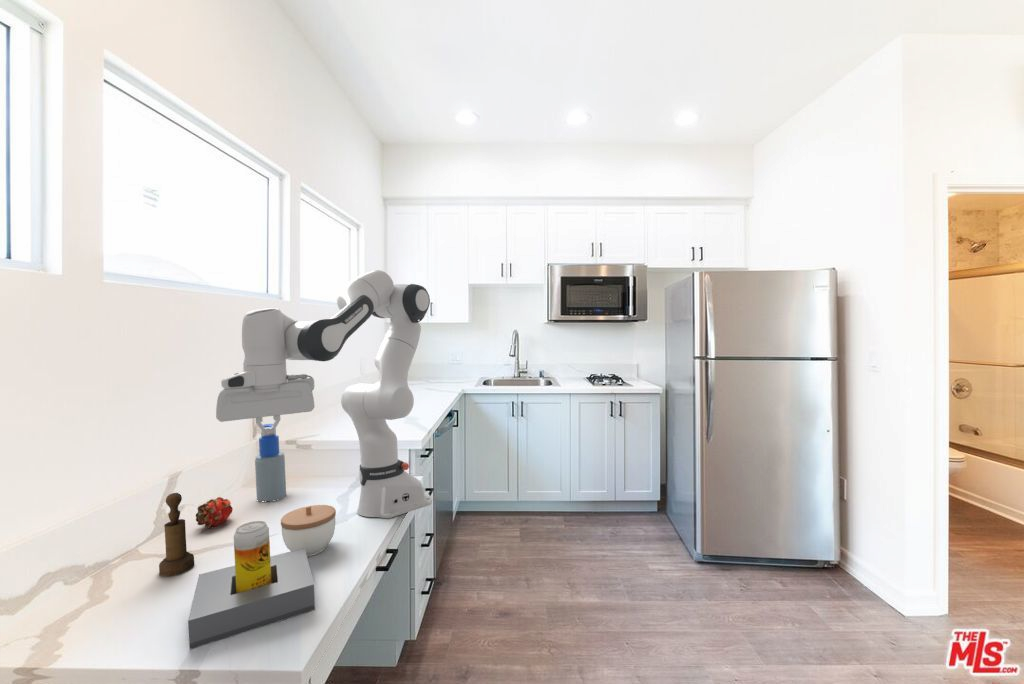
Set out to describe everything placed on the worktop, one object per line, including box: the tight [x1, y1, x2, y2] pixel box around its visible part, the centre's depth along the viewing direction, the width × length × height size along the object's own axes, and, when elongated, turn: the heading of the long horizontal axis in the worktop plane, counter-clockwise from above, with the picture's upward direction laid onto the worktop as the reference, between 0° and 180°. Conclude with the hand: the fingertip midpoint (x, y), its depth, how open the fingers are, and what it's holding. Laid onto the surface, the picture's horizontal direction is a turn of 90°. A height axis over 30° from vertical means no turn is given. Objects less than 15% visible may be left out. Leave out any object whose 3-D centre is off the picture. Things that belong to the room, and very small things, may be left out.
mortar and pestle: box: [158, 492, 195, 577], centre depth 105 cm, size 7×6×18 cm
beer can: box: [233, 520, 272, 594], centre depth 89 cm, size 6×6×15 cm
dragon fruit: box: [195, 496, 234, 529], centre depth 130 cm, size 8×8×12 cm
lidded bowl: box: [280, 504, 337, 558], centre depth 112 cm, size 13×13×11 cm
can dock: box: [187, 548, 316, 650], centre depth 90 cm, size 20×18×5 cm
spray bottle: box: [254, 423, 287, 503], centre depth 152 cm, size 9×9×25 cm
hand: (268, 435), depth 105 cm, fingers closed
